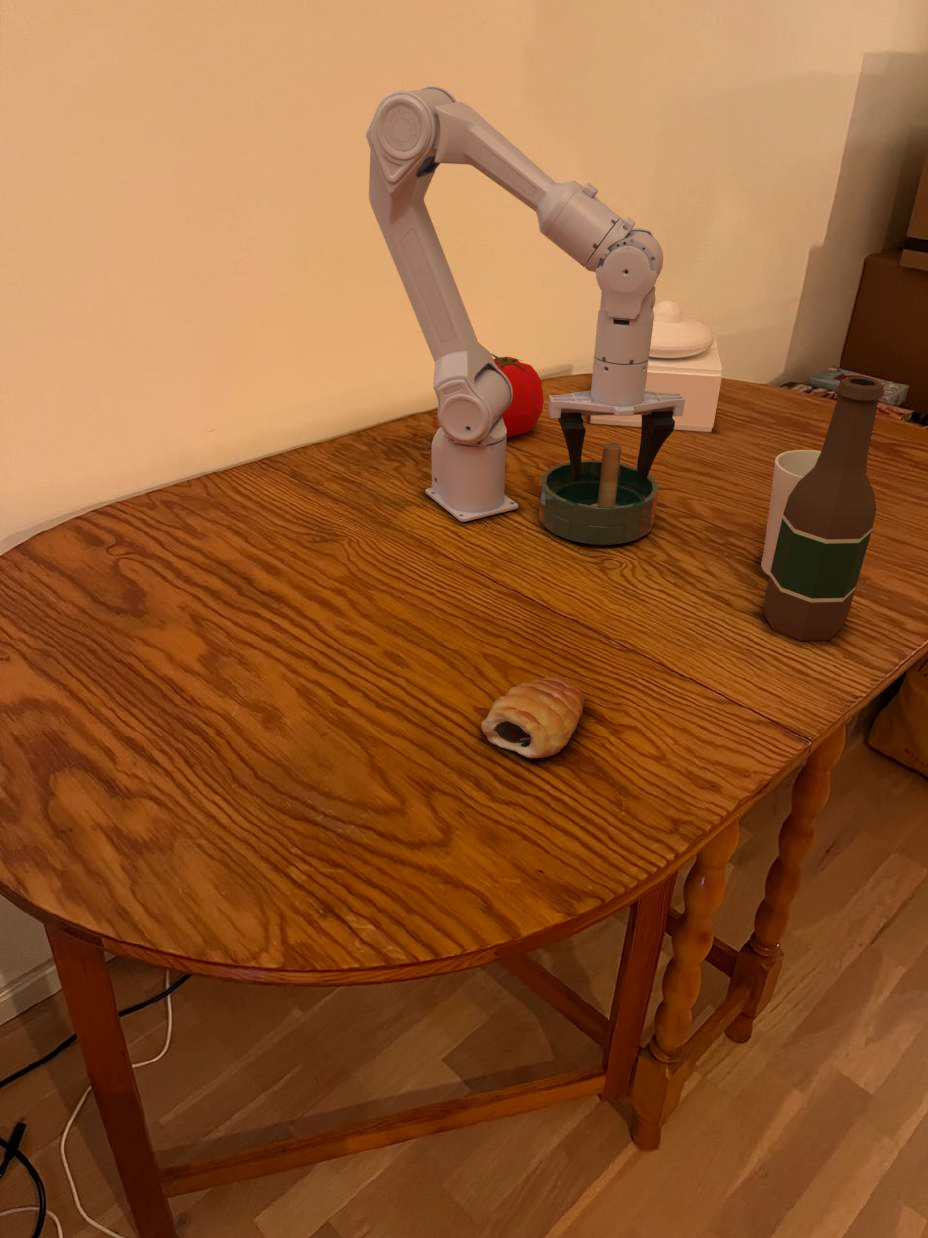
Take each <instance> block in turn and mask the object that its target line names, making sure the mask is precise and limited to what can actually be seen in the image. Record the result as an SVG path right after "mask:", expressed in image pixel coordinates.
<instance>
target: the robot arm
mask: <svg viewBox="0 0 928 1238" xmlns="http://www.w3.org/2000/svg"><path fill="white" fill-rule="evenodd" d="M365 137H366V138H365V139H366V140H367V143H368V146H369V149H370V151H369V177H368V178H369V179H368V180H369V182H368V199H369V203H370V207H371V209H372V212H373V215H374V216H375V219H376V221H377V224H378V227H379V229H380V231H381V234H382V236H383V239H384V242H385V243H386V246H387V249H388V251H389V254H390V256H391V259H392V260H393V263H394V266H395V269H396V271H397V273H398V276H399V278H400V280H401V283H402V285H403V288H404V290H405V293H406V295H407V298H408V300H409V303H410V305H411V308H412V310H413V312H414V316H415V317H416V319H417V322H418V324H419V327H420V329H421V333H422V334H423V337H424V339H425V342H426V345H427V347H428V349H429V351H430V354H431V357H432V359H433V361H434V369H433V370H434V371H433V382H432V383H433V384H432V387H433V391H434V393H435V395H436V399H437V419H438V423H439V427H438V429H437V430H436V432H435V434H434V435H433V438H432V441H431V487H428V488H426V489H425V491H424V493H425V495H427V496H428V497H430V498H431V499H432V500H433V501H434V502H436V503H437V504H438V505H440V506H441V507H442V508H443V509H444V510H445V511H447V512H448V513H450V514H451V515H452V516H453V517H454V518H456V519H457V520H458V521H459V522H460V523H465V522H470V521H473V520H478V519H482V518H486V517H489V516H495V515H498V514H503V513H506V512H509V511H510V512H511V511H514V510H517V509H519V504H518V503H517V502H516V501H514V500H513V499H512V498H510V497H509V496H508V495H506V494H505V489H506V488H505V487H506V486H505V485H506V464H507V463H506V462H507V461H506V460H507V459H506V458H507V438H508V437H507V436H506V435H507V429H506V427H505V424H504V421H503V414H504V413H505V412H506V411H507V410H508V408H509V407H510V405H511V402H512V398H513V390H512V386H511V383H510V381H509V379H508V378H507V376H506V375H505V374H504V373H503V372H502V371H501V370H500V369H499V368H498V367H497V366H496V364H495V362H494V360H493V359H494V357H493V355H492V353H491V352H490V351H489V350H488V349H487V348H486V347H485V346H483V345H482V344H481V343H480V342H479V341H478V337H477V335H476V333H475V329H474V328H473V325H472V322H471V320H470V317H469V315H468V312H467V310H466V307H465V304H464V302H463V299H462V296H461V294H460V293H461V292H460V290H459V289H458V286H457V283H456V280H455V278H454V276H453V273H452V270H451V268H450V265H449V262H448V259H447V257H446V254H445V252H444V249H443V247H442V244H441V241H440V239H439V236H438V234H437V231H436V228H435V226H434V223H433V221H432V219H431V218H432V217H431V216H430V213H429V211H428V208H427V205H426V202H425V196H426V194H427V191H428V189H429V187H430V185H431V183H432V179H433V178H434V176H435V173H436V170H437V169H438V167H439V166H440V165H441V164H450V165H451V164H452V165H468V166H471V167H473V168H475V169H476V170H478V171H479V172H480V173H482V174H483V175H484V176H485V177H487V178H489V179H490V180H491V181H493V182H494V183H495V184H497V185H498V186H499V187H501V188H502V189H504V190H505V191H506V192H507V193H508V194H510V195H512V196H513V197H515V198H516V199H517V200H519V201H520V202H521V203H522V204H524V205H526V206H527V207H528V208H530V209H531V210H532V211H534V212H535V214H536V218H537V222H538V228H539V232H540V234H542V235H543V236H545V238H547V239H548V240H549V241H551V242H552V243H553V244H554V245H555V246H556V247H558V248H559V249H560V250H562V251H563V252H564V253H565V254H567V255H568V256H569V257H571V258H572V259H573V260H574V261H576V262H577V263H578V264H579V265H580V266H582V267H583V268H584V269H586V270H587V271H588V272H593V273H595V278H596V282H597V285H598V287H599V289H600V292H601V294H600V305H599V310H598V311H597V320H596V333H595V343H594V354H593V365H592V374H591V375H592V376H591V387H590V390H585V391H577V392H572V393H564V394H549V395H548V405H547V413H548V415H549V418H550V419H557V420H558V423H559V426H560V428H561V431H562V434H563V436H564V440H565V445H566V446H567V447H566V448H567V454H568V459H569V462H570V469H571V476H572V478H573V480H574V481H576V480H580V477H581V461H582V458H583V457H582V454H583V447H584V441H585V437H586V433H587V429H586V427H585V424H584V419H583V418H582V417H585V416H586V417H587V416H588V417H589V416H590V417H591V416H595V415H616V416H633V415H642V427H640V428H641V430H640V432H641V433H640V444H639V450H638V456H637V462H636V468H637V473H638V475H639V476H640V478H641V479H647V477H648V475H650V471H651V468H652V465H653V464H654V461H655V460H656V457H657V455H658V453H659V451H660V450H661V448H662V446H663V445H664V443H665V442H666V441H667V439H668V438H669V437H670V435H671V434H672V433H673V432H674V430H675V429H674V426H675V421H674V420H673V418H672V417H673V416H683V411H684V404H685V399H684V398H683V396H682V395H681V394H680V393H661V392H650V391H645V386H646V378H647V369H648V361H649V354H650V346H651V338H652V330H653V321H654V312H653V308H654V307H655V306H656V286H655V284H656V282H657V280H658V278H659V276H660V275H661V273H662V269H663V265H664V251H663V249H662V246H661V244H660V242H659V241H658V239H657V238H655V236H654V235H653V233H652V232H651V230H648V229H646V228H641V227H635V226H636V221H634V219H632V218H631V217H629V216H628V217H626V219H624V218H623V217H621V216H620V215H619V214H618V213H617V212H615V211H614V210H613V209H612V208H610V207H609V206H608V205H607V204H605V203H604V202H603V201H602V200H600V199H599V198H598V197H597V194H598V192H599V190H598V188H596V186H594V185H593V184H592V183H591V182H587V183H586V184H584V186H583V185H582V184H580V183H579V182H578V181H577V180H569V181H564V182H557V181H555V180H554V179H553V178H552V177H551V176H549V175H548V174H547V173H546V172H545V171H544V170H543V169H541V168H540V167H539V166H538V165H537V164H536V163H534V161H533V160H531V159H530V158H529V156H527V155H526V154H525V153H523V152H522V151H521V150H520V149H519V148H518V147H517V146H516V145H515V144H514V143H512V142H511V141H510V140H508V138H507V137H506V136H504V134H502V133H501V132H499V130H497V129H496V128H495V126H493V125H492V124H491V123H490V122H488V121H487V119H485V118H484V117H483V116H481V115H480V114H479V112H477V111H476V110H475V109H474V108H473V107H472V106H471V105H469V104H467V103H465V102H463V101H461V100H460V101H457V100H456V98H455V97H454V95H452V93H450V92H449V91H448V90H446V89H444V88H443V87H439V86H426V87H423V88H420V89H416V90H396V91H393V92H391V93H388V95H386V96H384V98H382V99H381V101H380V103H379V104H378V105H377V107H376V109H375V112H374V114H373V117H372V118H371V121H370V122H369V125H368V128H367V130H366V132H365Z"/></svg>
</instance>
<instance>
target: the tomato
mask: <svg viewBox="0 0 928 1238" xmlns="http://www.w3.org/2000/svg"><path fill="white" fill-rule="evenodd" d="M491 355H492V357H493V360H494V362H495V364H496V366H497V367H498V368H499V369H500V370H501V371H502V372H503V373H504V374H505V375H506V376H507V378H508V379H509V381H510V383H511V386H512V390H513V398H512V402H511V405H510V407H509V408H508V410H507V411H506V412H505V413H504V414H503V421H504V424H505V427H506V429H507V435H506V436H507V438H509V437H515V436H519V435H522V434H525V433H527V432H528V431H530V430H531V429H532V428H533V427H534V426H535V425H536V424H537V422H538V421H539V419H540V416H541V415H542V413H543V410H544V402H545V401H544V391H543V383H542V379H541V378H540V376H539V374H538V372H537V371H536V369H535V368H534V367H533V366H532V365H531V364H528V363H524V362H522V360H520V359H518V358H515V357H511V356H502V357H501V356H497V355H496V354H494V353H491Z"/></svg>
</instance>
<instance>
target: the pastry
mask: <svg viewBox="0 0 928 1238" xmlns="http://www.w3.org/2000/svg"><path fill="white" fill-rule="evenodd" d="M584 703H585V696H584V693H583V691H582V689H581V688H580V686H577V685H576V684H574V683H573V682H570V681H568V680H567V678H565V677H564V676H552V675H551V676H546V677H542V678H537V677H536V678H533V679H532V680H531V681H523V682H521V683H520V684H519V685H518V686H512V687H510V688H509V689H508V692H507V693H506V694H505V695H501V696H498V697H497V698H495V700H493V702H492V705H491V707H490V710H489V713H488V715H487V716H486V718H485V719H484V720H482V721H481V723H480V729H481V732H482V733H483V735H485V736H486V739H487V741H488V742H489V743H490V744H493V745H495V746H497V747H499V748H501V749H504V750H507V751H512V752H516V753H517V754H519V755H521V756H523V757H525V758H528V759H540V758H541V759H544V758H548V757H552V756H554V755H556V754H558V753H559V752H561V750H563V749H564V747H566V746H567V745H568V743H569V740H570V739H571V738H572V735H574V732H575V731H576V729H577V726H578V723H579V721H580V719H581V716H582V714H583V709H584Z"/></svg>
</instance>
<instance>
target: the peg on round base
mask: <svg viewBox="0 0 928 1238" xmlns="http://www.w3.org/2000/svg"><path fill="white" fill-rule="evenodd" d="M622 447H623V446H622V445H621V444H619V443H615V442H607V443H605V444H603V447H602V456H601V461H602V466H601V475H600V485H599V495H598V503H597V504H593V505H590V506H604V507H613V506H617V505H615V502H616V493H617V484H618V475H619V466H620V464H621V456H622V455H621V454H622Z"/></svg>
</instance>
